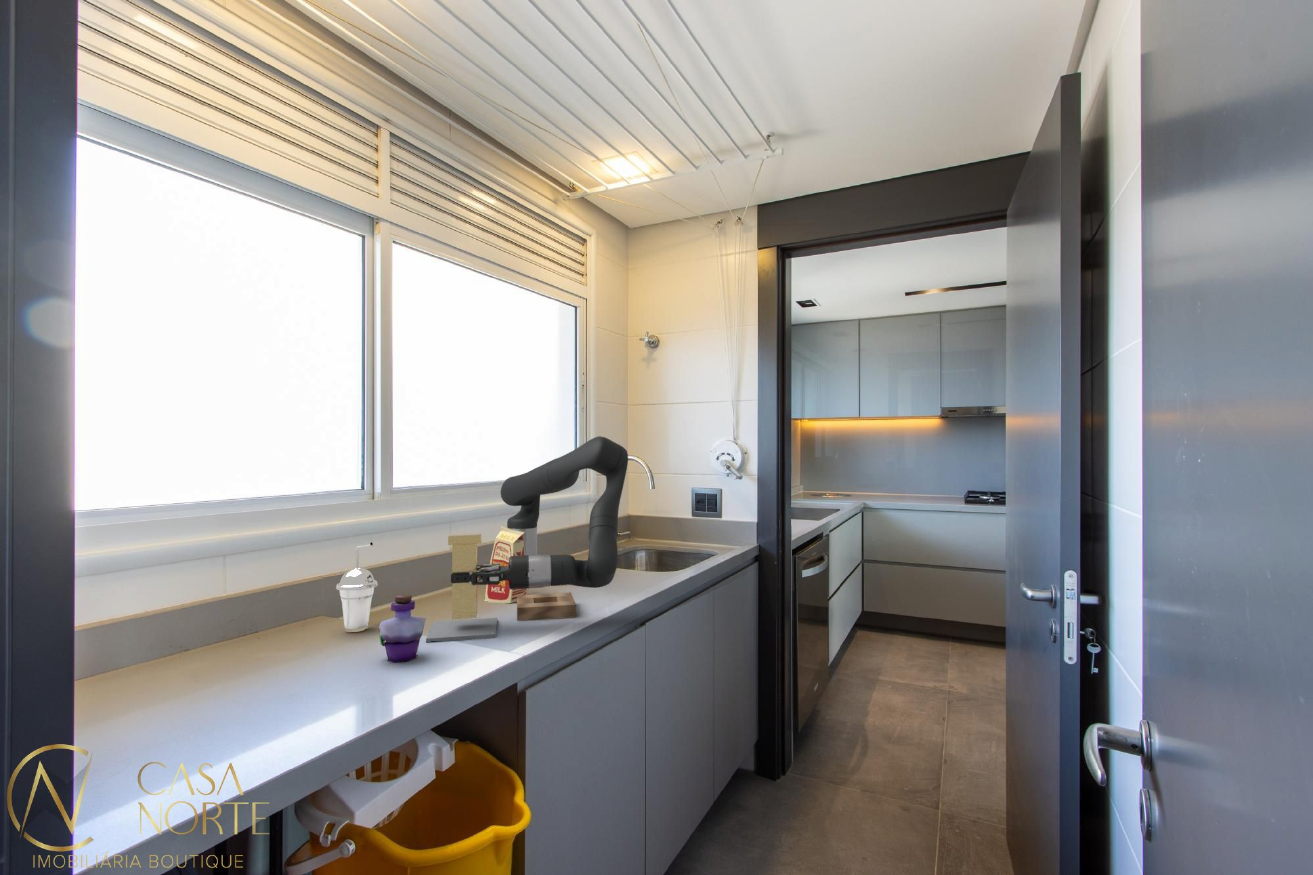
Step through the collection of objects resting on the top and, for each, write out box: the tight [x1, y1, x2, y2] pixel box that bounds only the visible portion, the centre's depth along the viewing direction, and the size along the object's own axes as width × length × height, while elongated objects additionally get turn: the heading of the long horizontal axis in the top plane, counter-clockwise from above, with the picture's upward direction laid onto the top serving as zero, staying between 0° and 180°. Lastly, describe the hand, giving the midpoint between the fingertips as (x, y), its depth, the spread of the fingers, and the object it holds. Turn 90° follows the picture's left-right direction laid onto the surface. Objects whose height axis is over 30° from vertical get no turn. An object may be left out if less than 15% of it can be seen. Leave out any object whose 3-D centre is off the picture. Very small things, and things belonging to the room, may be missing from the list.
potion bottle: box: [378, 594, 427, 664], centre depth 115 cm, size 9×9×12 cm
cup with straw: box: [335, 541, 379, 629], centre depth 134 cm, size 8×9×20 cm
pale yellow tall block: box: [447, 533, 482, 620], centre depth 134 cm, size 7×5×18 cm
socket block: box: [516, 592, 577, 622], centre depth 150 cm, size 14×14×3 cm
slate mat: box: [425, 617, 498, 643], centre depth 133 cm, size 14×14×1 cm
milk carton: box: [484, 525, 528, 604], centre depth 165 cm, size 9×9×20 cm
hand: (452, 575), depth 133 cm, fingers closed on pale yellow tall block, 5 cm apart
